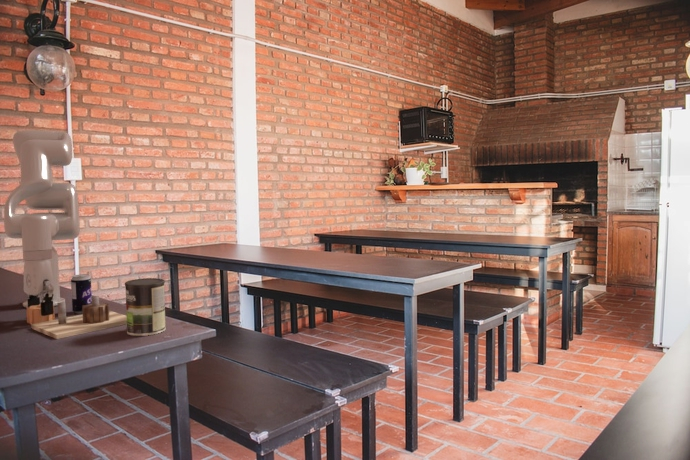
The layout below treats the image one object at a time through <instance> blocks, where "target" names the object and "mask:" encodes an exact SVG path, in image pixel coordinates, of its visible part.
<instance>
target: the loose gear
mask: <svg viewBox="0 0 690 460" xmlns="http://www.w3.org/2000/svg"><path fill="white" fill-rule="evenodd" d="M53 311H54V313H53V314H52V315H46V316H42V315H41V304H39V305H35V306H30V307H28V308H26V323H27V324H29V325H31V324H36V323H41V322H47V321H52V320H56V317H55V315H56V314H55V306H54V305H53Z"/></svg>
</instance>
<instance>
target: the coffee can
mask: <svg viewBox="0 0 690 460" xmlns="http://www.w3.org/2000/svg"><path fill="white" fill-rule="evenodd" d="M124 286H125V309H126V311H125V312H126V314H125V315H126V316H127V324H126V334H127V335H129V336H131V337H132V336H133V337H148V335H149V336H153V335H154V334H155V335H159V334H161V332H162V333H163V331H164V332H165V331H166V328H167V327H166V307H165V306H166V305H165V301H166V300H165V298H166V297H165V279H163V278H157V277H155V278H154V277H153V278H152V277H148V278H146V277H145V278H135V279H131V280H128V281H125V282H124ZM158 333H159V334H158Z"/></svg>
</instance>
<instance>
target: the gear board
mask: <svg viewBox="0 0 690 460" xmlns="http://www.w3.org/2000/svg"><path fill="white" fill-rule="evenodd" d="M91 300H92V304H88V305H83V306H82V312H83V314H77V315H74V316H68V317H67V306H66V301H65V302H59V303H58V305H57V319H55V320H52V321H47V322H41V323H36V324H30V325H31V328H32V330H34V331H36V332H39V333H40V334H41V333H42V334H43V335H47V336H48V337H51V338H53V339H55V340H60V339H64V338H68V337H69V338H70V337H73V336H79V335H82V334H87V333H91V332H96V331H102V330H106V329H110V328H115V327H119V326H125V325H127V315H126V314H122V313H119V312H115V311H113V310H110V305H109V303H108V302H106V303H104V302H103V303H102V302H100V295H92V297H91Z"/></svg>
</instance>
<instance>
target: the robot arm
mask: <svg viewBox="0 0 690 460" xmlns="http://www.w3.org/2000/svg"><path fill="white" fill-rule="evenodd" d="M12 145H13V148H14V150H15V155H16V157H17V159H18V160H19V162H20V183H19V185H18V186H17V187H16V188H14V189H13V190H12V191H11V192H10V194H9V195H8V197H7V198H6V201H5V202H4V209H3V218H4V219H3V226H4V227H3V228H4V232H5V235H6V236H7V237H9V238H11V239H13V240H14V239H21V246H22V247H21V248H22V262H23V264H24V265H23V291H24V293H25V294H26V299H27V300H26V301H24V302H22V307H24V308H26V309H27V308H28V307H30V306H35V305H39V304H41V315H42V316H46V315H52V314H53V313H55V310H54V311H53V305H54V307H56V306H57V307H58V303H59V302H66V298H64V297H61V293H60V290H61V288H60V273H59V272H60V271H59V254H58V250H56V248H55V247H54V246H53V245H52V244H53V243H52V241H66V240H75V239H76V238H78V237H79V235H80V230H81V229H80V228H81V227H80V225H81V224H80V211H79V197H78V190H77V188H76V186H75V185H74V184H72V183H70V182H55V181H53V175H54V174H53V169H52V166H56V167H66V166H67V167H68V166H69V165H71V163H72V160H73V142H72V137H71V135H70V133H68V132H66V131H60V130H59V131H58V130H38V129H25V130H18V131H16V132H15V133H14V134H13V136H12ZM24 200H25V205H26V206H27V207H28V209H31V210H33V211H34V210H35V211H55V210H56V211H59V210H60V211H61V210H62V211H63V212H32V213H16V209H17V207H18V205H20V203H22V202H23V201H24Z"/></svg>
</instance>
